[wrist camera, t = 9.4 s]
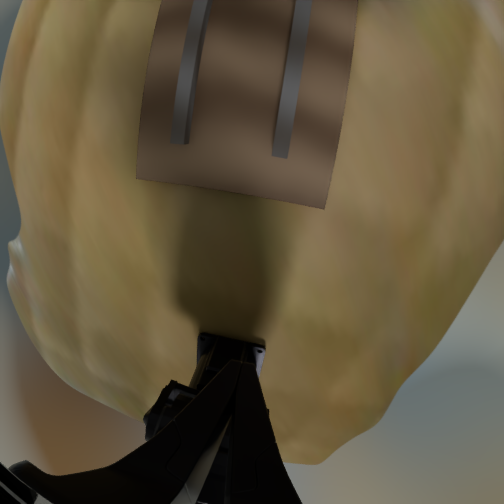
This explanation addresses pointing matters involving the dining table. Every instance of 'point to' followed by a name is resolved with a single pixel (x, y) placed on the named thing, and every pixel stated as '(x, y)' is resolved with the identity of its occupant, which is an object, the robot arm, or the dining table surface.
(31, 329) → the dining table surface
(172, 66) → the brown board with frame
